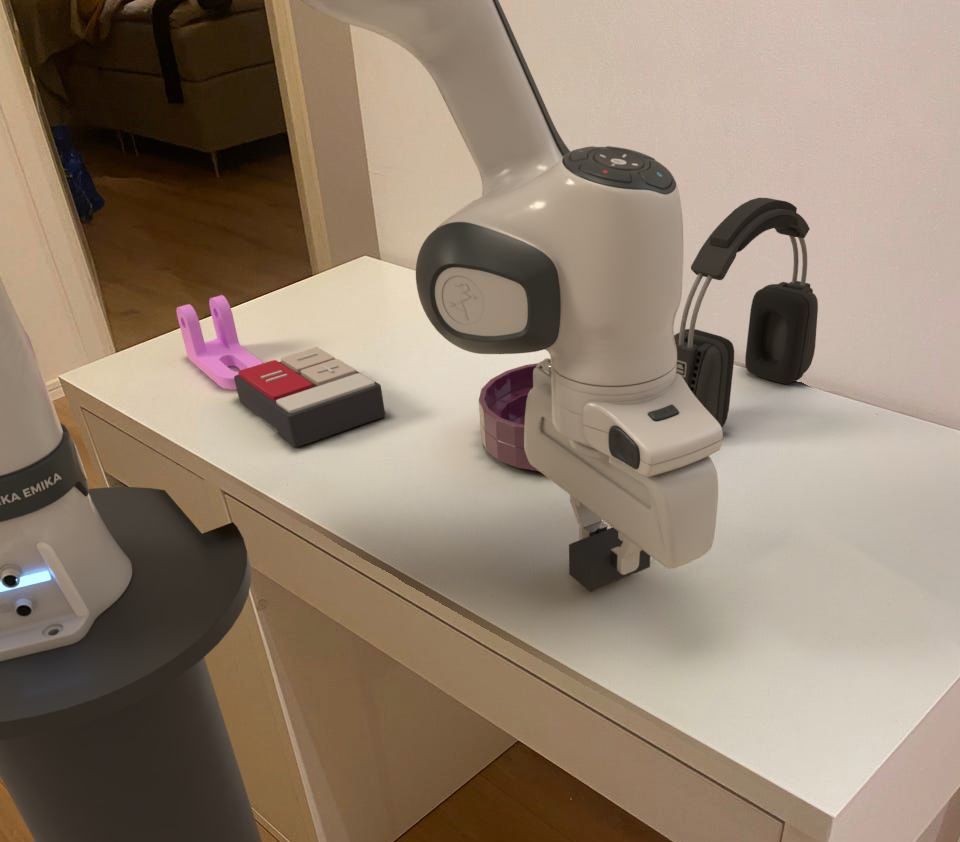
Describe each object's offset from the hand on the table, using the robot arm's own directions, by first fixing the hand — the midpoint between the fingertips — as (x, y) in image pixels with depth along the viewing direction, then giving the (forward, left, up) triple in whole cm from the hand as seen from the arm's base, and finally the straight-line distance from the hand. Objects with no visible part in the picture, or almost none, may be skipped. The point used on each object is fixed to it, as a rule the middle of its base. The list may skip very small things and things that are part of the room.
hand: (608, 555), depth 80 cm
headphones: (+30, +19, -3) cm, 35 cm away
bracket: (-12, +61, -3) cm, 62 cm away
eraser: (0, 0, -2) cm, 2 cm away
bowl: (+10, +23, -2) cm, 25 cm away
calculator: (-8, +45, -3) cm, 46 cm away
